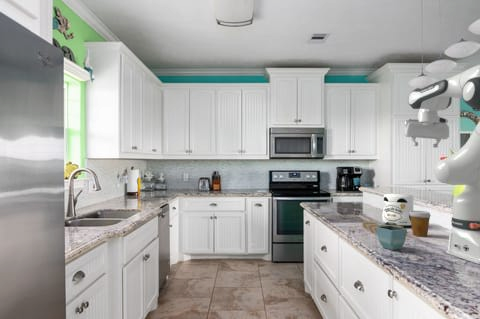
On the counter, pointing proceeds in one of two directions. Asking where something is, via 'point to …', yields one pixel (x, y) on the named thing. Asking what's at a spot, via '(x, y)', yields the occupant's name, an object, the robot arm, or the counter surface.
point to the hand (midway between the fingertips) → (425, 146)
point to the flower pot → (391, 236)
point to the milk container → (397, 209)
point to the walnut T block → (374, 226)
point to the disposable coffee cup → (420, 223)
